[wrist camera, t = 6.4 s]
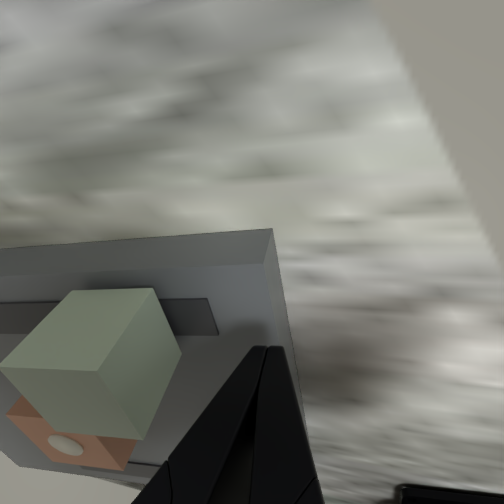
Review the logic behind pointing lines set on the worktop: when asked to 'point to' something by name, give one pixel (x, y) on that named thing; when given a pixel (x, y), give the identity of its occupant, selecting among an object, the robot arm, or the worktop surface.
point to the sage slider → (97, 363)
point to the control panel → (177, 314)
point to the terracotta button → (70, 441)
